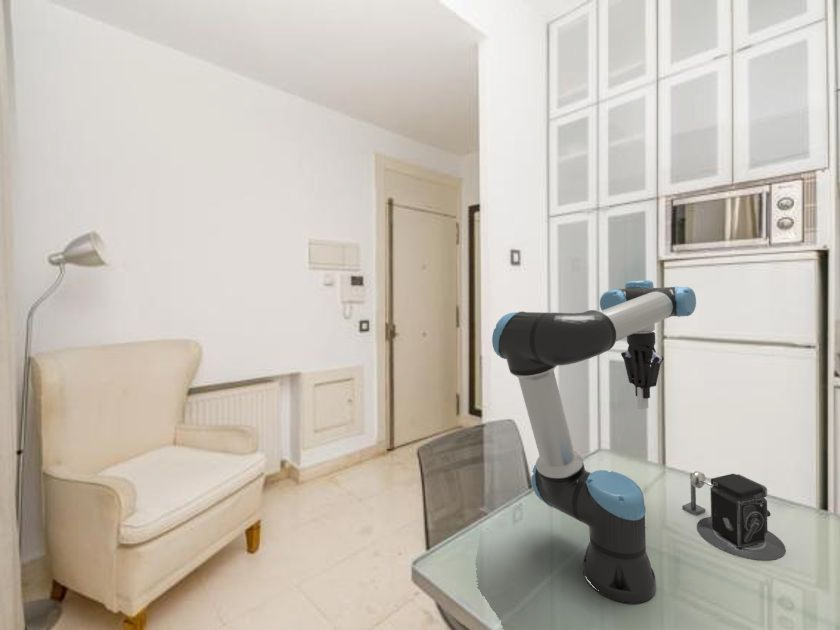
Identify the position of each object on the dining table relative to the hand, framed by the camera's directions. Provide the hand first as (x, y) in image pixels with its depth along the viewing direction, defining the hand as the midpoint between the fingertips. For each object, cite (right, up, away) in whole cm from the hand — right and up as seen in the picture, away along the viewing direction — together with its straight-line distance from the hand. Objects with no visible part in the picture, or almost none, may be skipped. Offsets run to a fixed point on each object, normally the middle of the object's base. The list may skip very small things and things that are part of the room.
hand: (643, 407), depth 121 cm
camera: (+15, -30, -18) cm, 38 cm away
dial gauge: (+13, -29, -7) cm, 33 cm away
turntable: (+15, -30, -18) cm, 38 cm away
